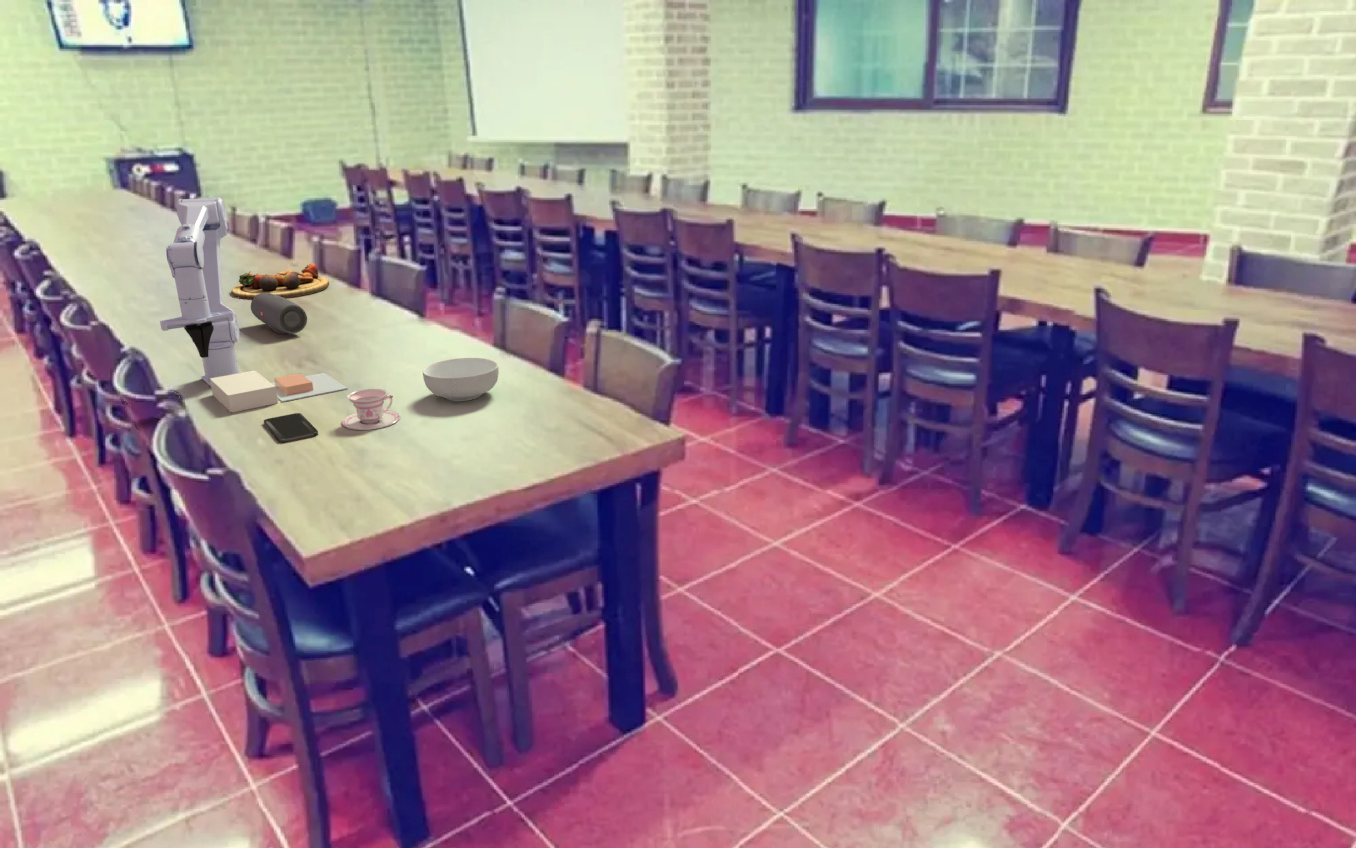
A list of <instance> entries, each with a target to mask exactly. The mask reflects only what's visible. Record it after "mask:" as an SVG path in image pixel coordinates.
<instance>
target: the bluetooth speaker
mask: <svg viewBox="0 0 1356 848" xmlns="http://www.w3.org/2000/svg"><path fill="white" fill-rule="evenodd" d="M250 310H251V314H253V316H254V317H255V318H256V319H257V320H260V322H262V323H263V324H265V325H267V326H269V327H270V328H271V330H273V331H274V332H276V333H278V334H281V335H286V334H287V335H288V334H297V333H300V332H302V331H303V330H304V329H305V328H306V326H307V323H308V316H307V312H306V311H305V310H304V309H303V308H302V307H301V306H300V305H298V304H297V303H295V302H293V301H291V300H290V299H289V298H283V297H280V296H278V295H275V294H271V293H260V294H258V295H256V296H255V297H254V298H253V299H251V302H250Z"/></svg>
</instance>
